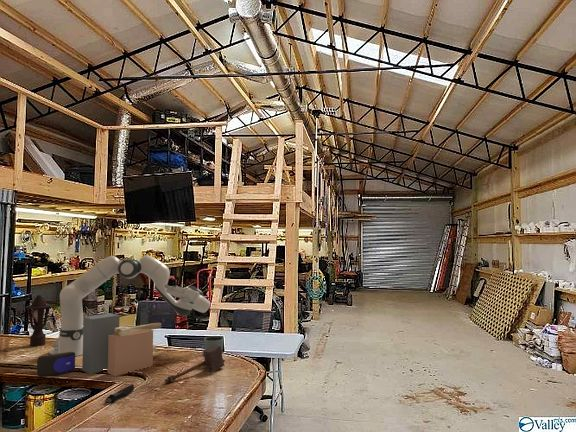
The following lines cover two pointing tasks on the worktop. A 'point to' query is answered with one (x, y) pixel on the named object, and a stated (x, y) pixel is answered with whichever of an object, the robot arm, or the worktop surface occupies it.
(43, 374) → the leaning round-cornered charcoal block
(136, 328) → the T-bar
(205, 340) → the grey green cup
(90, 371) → the grey upright block
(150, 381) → the worktop surface
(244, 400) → the worktop surface
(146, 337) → the tan upright block
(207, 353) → the hammer
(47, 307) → the lantern
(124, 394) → the electric trimmer
